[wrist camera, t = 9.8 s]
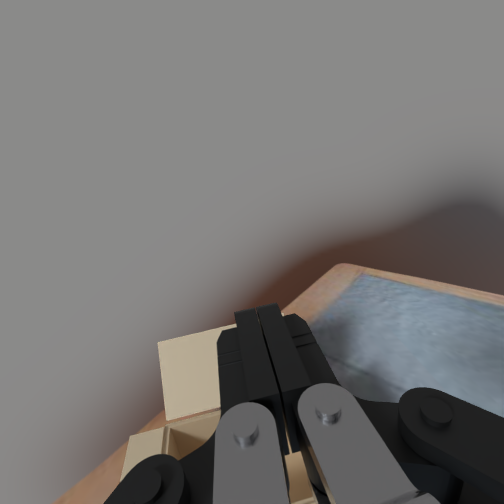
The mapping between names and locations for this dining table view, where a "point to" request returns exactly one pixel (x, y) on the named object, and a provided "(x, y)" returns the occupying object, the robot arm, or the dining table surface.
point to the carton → (195, 435)
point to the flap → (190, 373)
